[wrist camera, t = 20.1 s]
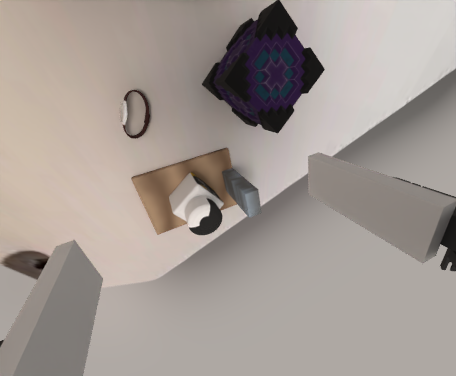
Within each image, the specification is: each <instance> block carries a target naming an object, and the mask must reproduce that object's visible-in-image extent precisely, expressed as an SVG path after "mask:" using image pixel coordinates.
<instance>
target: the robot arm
mask: <svg viewBox="0 0 456 376" xmlns="http://www.w3.org/2000/svg"><path fill="white" fill-rule="evenodd" d="M308 172H309V195H311V196H312V197H314V198H316V199H317V200H319V201H321V202H323V203H324V204H325V205H327V206H329V207H330V208H332V209H334V210H335V211H337V212H339V213H340V214H342V215H344V216H345V217H347V218H349V219H350V220H352V221H354V222H355V223H357V224H359V225H360V226H362V227H364V228H365V229H367V230H368V231H370V232H372V233H374V234H375V235H377V236H378V237H380V238H382V239H383V240H385V241H386V242H388V243H390V244H392V245H393V246H395V247H396V248H398V249H400V250H401V251H403V252H405V253H406V254H408V255H410V256H411V257H413V258H415V259H416V260H418V261H419V262H421V263H424V262H426V261H428V260H429V259H431V258H432V257H434V256H436V254H437V251H438V249H439V246H440V244H441V245H443V246H445V247H447V248H448V249H447V251H446V254H445V256H444V258H443V261H442V263H441V265H440V266H441V269H442V270H446V268H447V265H448V263H449V262H452V266H451V268H450V270H451V271H456V197H454V196H451V195H448V194H445V193H442V192H439V191H436V190H433V189H430V188H427V187H424V186H423V187H421V186H420V185H418V184H415V183H410V182H409V181H405V180H403V179H400V178H395V177H390V176H387V175H384V174H381V173H378V172H375V171H372V170H369V169H366V168H363V167H360V166H357V165H354V164H351V163H348V162H345V161H342V160H339V159H336V158H334V157H331V156H328V155H325V154H322V153H316V154H313V155H310V156H308ZM102 281H103V278H102V277H101V275H100V274H99V273H98V271H97V270H96V268H95V267H94V266H93V264H92V263H91V262H90V260H89V259H88V258H87V256H86V255H85V254H84V252H83V251H82V249H81V248H80V247H79V245H78V244H77V243H76V241H75V240H73V241H70V242H67V243H65V244H62V245H59V246H56V248H55V249H54V251H53V253H52V255H51V257H50V258H49V260H48V262H47V264H46V266H45V267H44V269H43V271H42V273H41V275H40V276H39V278H38V280H37V282H36V284H35V285H34V287H33V289H32V291H31V293H30V295H29V296H28V298H27V300H26V302H25V304H24V305H23V307H22V309H21V311H20V313H19V315H18V316H17V318H16V320H15V322H14V323H13V325H12V327H11V329H10V331H9V332H8V334H7V336H6V338H5V340H2V341H0V376H83V373H84V368H85V363H86V358H87V354H88V348H89V344H90V339H91V334H92V330H93V325H94V320H95V315H96V310H97V305H98V300H99V296H100V290H101V286H102Z"/></svg>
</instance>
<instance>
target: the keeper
mask: <svg viewBox="0 0 456 376" xmlns="http://www.w3.org/2000/svg"><path fill="white" fill-rule="evenodd" d="M190 172H191V173H193V174H194V175H195V176H197V177H198V178H199V179H201V180H202V181H203V182H205V183H206V184H207V185H208V186H210V187H211V188H212V189H214V191H215V192H216V193H217V195H218V196H219V197H220V199H221V200H222V201H223V203H224V205H223V206H222V207H221V208H220V211H221V210H223V209H226V208H228V207H231V206H234V205H236V204H238V205H239V206H240V208H241V209H242V210H243V211H244V212H245V213H246V215H247V216H248V217H252V216H255V215H257V214H259V213H261V207H260V200H259V193H258V189H257V188H256V187H254V186H253V185H252V184H251V183H250V182H248V181H247V180H246V179H245V178H244V177H242V176H241V175H240V174H239V173H237V172H236V171H235V170H234V169H233V168H232V165H231V160H230V155H229V150H228V148H224V149H221V150H218V151H214V152H211V153H208V154H205V155H202V156H198V157H195V158H192V159H189V160H186V161H183V162H179V163H176V164H173V165H170V166H167V167H163V168H160V169H157V170H154V171H151V172H147V173H144V174H141V175H138V176H135V177H132V181H133V184H134V186H135V188H136V190H137V192H138V194H139V196H140V198H141V201H142V203H143V205H144V207H145V209H146V211H147V213H148V215H149V218H150V220H151V222H152V224H153V226H154V228H155V230H156V232H157V235H159V234H161V233H164V232H166V231H169V230H171V229H174V228H177V227H179V226H182V225H184V224H187V222H186V221H185V220H183V219H181V218H180V217H178V216H176V215H175V214H173V211H172V208H171V204H170V200H169V196H170V195H171V193H172V192H173V191H174V190H175V189H176V188H177V187H178V185H179V184H180V183H181V182H182V181H183V180H184V178H185V177H186V176H187V175H188V174H189V173H190Z"/></svg>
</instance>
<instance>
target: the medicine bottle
mask: <svg viewBox="0 0 456 376" xmlns="http://www.w3.org/2000/svg"><path fill="white" fill-rule="evenodd" d="M169 200H170V204H171V208H172V211H173V214H175V215H176V216H178V217H180V218H181V219H183V220H185V221H186V222H187V224H188V227H189V229H190V230H191V231H192V232H193V233H195V234H197V235H207V234H210V233H212V232H214V231H215V230H216V229H217V228H218V227H219V226H220V224H221V222H222V213H221V211H220V208H221V207H222V206H223V205H224V203H223V201H222V200H221V199H220V197H219V196H218V195H217V193H216V192H215V191H214V189H212V188H211V187H210V186H208V185H207V184H206V183H205V182H203V181H202V180H201V179H199V178H198V177H197V176H195V175H194V174H193V173H191V172H190V173H189V174H188V175H187V176H186V177H185V178H184V180H183V181H182V182H181V183H180V184H179V185H178V187H177V188H176V189H175V190H174V191H173V192H172V193H171V195H170V196H169Z"/></svg>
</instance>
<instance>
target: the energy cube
mask: <svg viewBox="0 0 456 376" xmlns="http://www.w3.org/2000/svg"><path fill="white" fill-rule="evenodd" d="M297 29H298V28H297V26H296V25H295V23H294V22H293V20H292V19H291V17H290V16H289V14H288V13H287V11H286V10H285V8H284V7H283V5H282V3H281V2H280V0H277V1H276V2H274V3H273V4H271V5H270V6H268V7H267V8H265V9H264V10H262V12H261V13H260V15H259V18H258V20H256V21H253V19H252V18H251V19H249V20H248V21H246V22H245V23H243V24H242V25H240V27H239V29H238V30H237V32H236V33H235V35H234V36H233V38H232V39H231V41H230V42H229V44H228V45H227V47H226V48H227V53H226V54H225V56H224V57H223V59H222V60H221V62H220V63H216V64H215V65H214V67H213V68H212V70H211V71H210V73H209V74H208V76H207V77H206V79H205V80H204V82H203V83H202V85H203V86H204V87H206V88H207V89H208V90H209V91H210V92H211V93H212V94H213V95H215V96H216V97H217V98H218V99H219V100H225V101H226V102H227V103H228V104H229V105H230V106H231V107H232V112H234V113H235V114H236V115H237V116H238V117H239V118H240V119H241V120H243V121H244V122H245V123H246V124H248V125H251V126H255V127H256V126H257V125H258V124H260V125H262V127H263V128H264V129H265V130H268V131H272V132H275V133H279V131H280V130H281V129H282V127H283V126H284V124H285V123H286V122H287V120H288V119H289V118H290V116H291V115H292V114H293V112H294V109H293V105H294V104H295V103H296V101H297V100H298V98H299V97H300V96H301V94H304V93H308V92H309V90H310V89H311V88H312V86H313V85H314V84H315V82H316V81H317V79H318V78H319V77H320V75H321V74H322V73H323V71H324V70H325V69H324V68H323V66H322V65H321V63H320V61H319V60H318V58H317V57H316V55H315V54H314V52H313V51H312V49H311V48H304V47H303V46H302V44H301V43H300V41H299V40H298V38H297V37H296V35H295V34H296V31H297Z"/></svg>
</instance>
